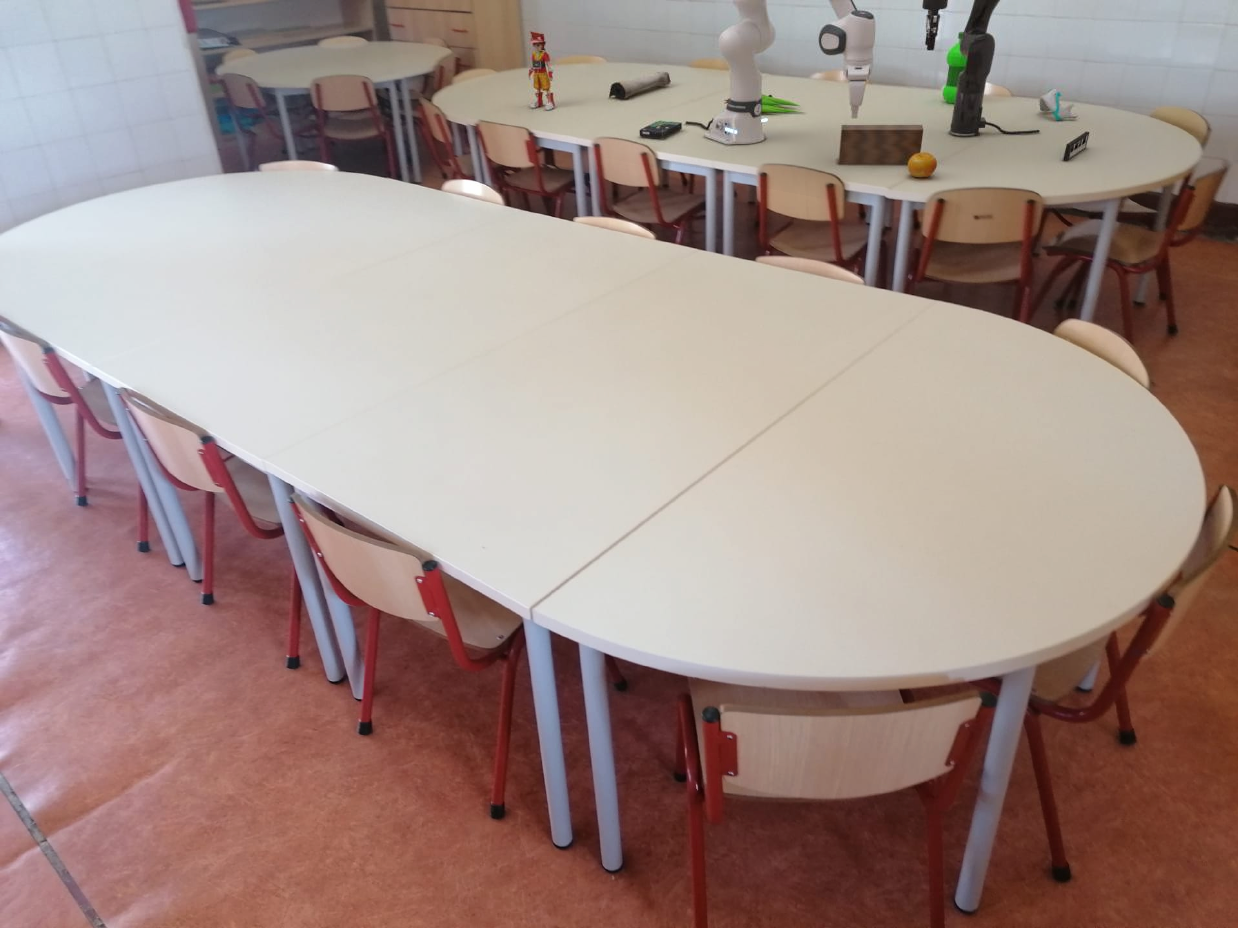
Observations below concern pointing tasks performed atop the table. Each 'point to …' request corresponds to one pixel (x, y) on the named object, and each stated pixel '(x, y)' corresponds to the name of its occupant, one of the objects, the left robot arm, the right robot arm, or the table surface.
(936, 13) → the right robot arm
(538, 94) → the toy
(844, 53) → the left robot arm
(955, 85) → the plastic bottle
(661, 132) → the disk drive
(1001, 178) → the table surface
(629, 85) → the rolled mat
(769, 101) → the toy
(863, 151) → the box
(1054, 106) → the white and teal piece
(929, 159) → the fruit
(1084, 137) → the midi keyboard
